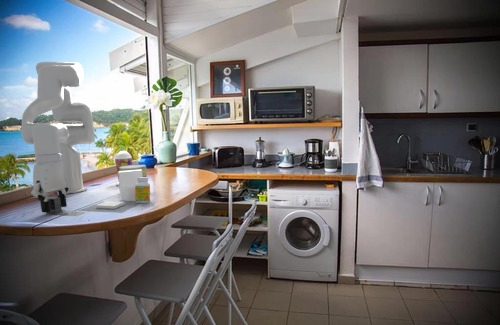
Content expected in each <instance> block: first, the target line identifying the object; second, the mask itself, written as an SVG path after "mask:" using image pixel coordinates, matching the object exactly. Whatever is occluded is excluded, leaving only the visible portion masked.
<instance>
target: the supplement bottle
mask: <svg viewBox="0 0 500 325" xmlns="http://www.w3.org/2000/svg"><path fill="white" fill-rule="evenodd" d="M137 180H138V183H136V185H135V200H134V201H135V202H134V203H142V204H147V203H149V202H150V201H151V183H150V182H149V177H148V176H147V177H138V178H137Z"/></svg>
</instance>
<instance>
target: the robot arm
mask: <svg viewBox="0 0 500 325" xmlns="http://www.w3.org/2000/svg"><path fill="white" fill-rule="evenodd" d="M35 71H36V74H37V97H36V99H35V100H33V101H31V103H30V104H29V105H28V106H27V107H26V108H25V110H24V112H23V113H22V116H21V126H20V127H21V137H22V140H23V142H25V143H26V144H28V145H33V149H34V156H35V157H34V158H35V164H33V169H32V170H33V171H32V182H33V183H32V184H33V188H32V190H31V192H30V194H31V196H33V197H34V198H35V199H37V201H38V202H40V211H41V213H45V214H46V213H49V212H50V211H51V210H50V202H49V201H47V200H48V197H50V193H54V192H56V193H57V196H56V197H60V201H61V208H66V207H67V206H68V205H67V198H66V197H67V196H68V194H75V193H76V194H77V193H81V192H85V191H87V190H88V186H84V183H83V182H84V181H83V173H82V171H83V170H82V163H81V162H82V161H81V153H80V151H79V150H78V149H76V147H74V146H77V145H90V144H92V143H95V127H94V126H95V125H94V119H93V112H92V107H91V105H90V103H89V102H87V101H84V100H73V98H72V91H71V88H79V87H80V86H81V85H82V82H83V80H84V69H83V67H82V65H81V64H80V63H79V62H75V61H73V62H72V61H71V62H69V61H40V62H37V63H36V66H35ZM50 111H51V112H52V113H51V114H52V117H53V119H54V120H55V121H57V122H35V120H36V119H37V117H40V116H41V115H43V114H46V113H48V112H50ZM70 122H71V123H70ZM75 122H77V123H75ZM78 122H80V123H78ZM64 123H70V124H64ZM72 123H73V124H72ZM73 145H74V146H73Z"/></svg>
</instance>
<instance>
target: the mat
mask: <svg viewBox="0 0 500 325" xmlns="http://www.w3.org/2000/svg"><path fill="white" fill-rule="evenodd" d="M103 202H104V201H100V202H97V203H96V204H92V205H90V206H87V207H84V208H82V209H79V210H77V212H95V213H96V212H97V213H98V212H99V213H121V214H122V213H124V212H126V211H128V210H130V209H132V208H135V207H137V206H139V205H142V204H143V203H136V202H132V201H124V202H125V205H123V206H121V207H119V208H116V209H101V208H96V205H98V204H101V203H103Z"/></svg>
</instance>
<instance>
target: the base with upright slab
mask: <svg viewBox="0 0 500 325" xmlns="http://www.w3.org/2000/svg"><path fill="white" fill-rule="evenodd" d="M118 175H119V181H118V184H119V194H120V196H119V197H120V201H121V202H132V201H133V202H134V201H135V185H136V183H138V180H137V178H138V177H142V170H141V169H140V170H129V171H119V172H118V174H117V176H118Z"/></svg>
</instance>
